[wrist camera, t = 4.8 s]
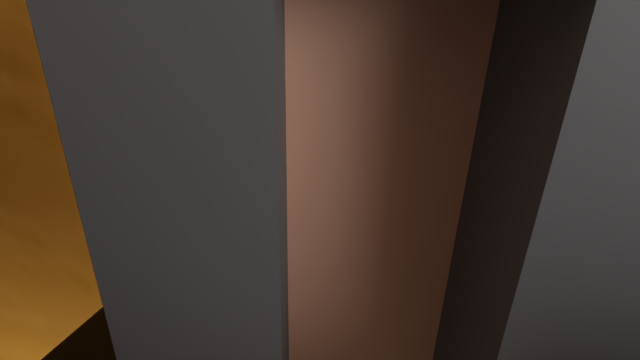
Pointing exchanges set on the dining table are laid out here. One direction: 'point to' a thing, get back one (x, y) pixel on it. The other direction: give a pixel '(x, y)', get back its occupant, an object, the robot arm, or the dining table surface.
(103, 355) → the robot arm
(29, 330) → the dining table surface
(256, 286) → the dark gray frame
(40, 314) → the dining table surface
